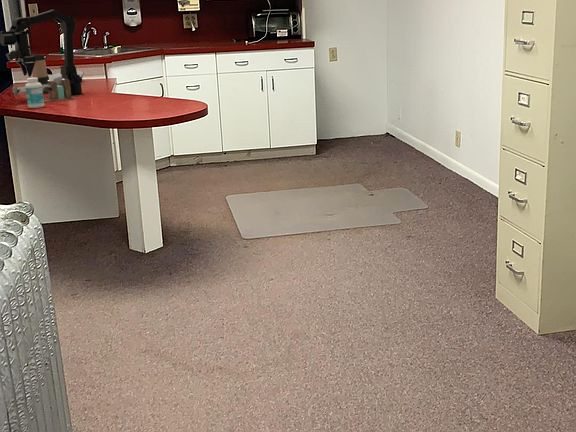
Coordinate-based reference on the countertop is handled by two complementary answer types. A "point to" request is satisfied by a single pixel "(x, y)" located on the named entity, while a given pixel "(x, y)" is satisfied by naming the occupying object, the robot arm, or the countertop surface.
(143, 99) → the countertop surface
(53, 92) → the bearing stand
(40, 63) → the travel mug
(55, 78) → the sculpture
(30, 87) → the pill bottle
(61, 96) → the collar
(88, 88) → the countertop surface
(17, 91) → the shaft
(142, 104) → the countertop surface
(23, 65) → the robot arm
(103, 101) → the countertop surface
